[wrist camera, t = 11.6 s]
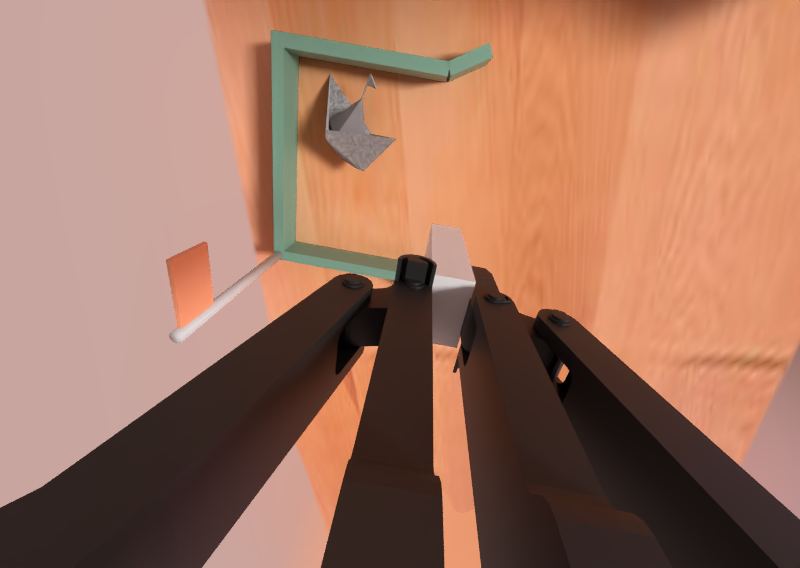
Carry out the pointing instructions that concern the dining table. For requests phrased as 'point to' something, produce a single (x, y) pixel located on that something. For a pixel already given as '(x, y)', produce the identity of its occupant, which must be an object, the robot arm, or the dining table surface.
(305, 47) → the green u-shaped frame
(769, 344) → the dining table surface
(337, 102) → the paper boat
